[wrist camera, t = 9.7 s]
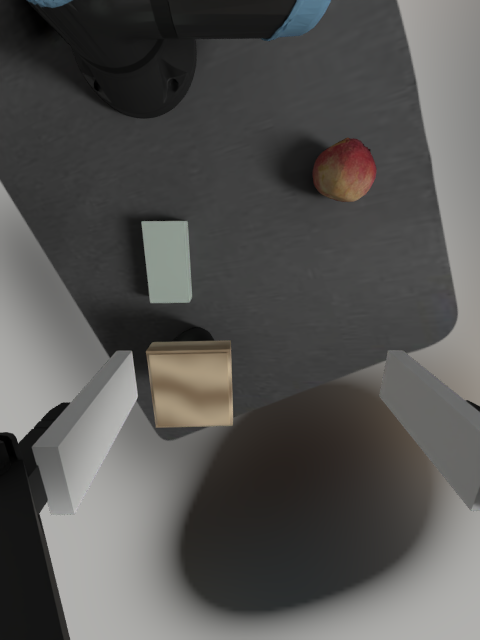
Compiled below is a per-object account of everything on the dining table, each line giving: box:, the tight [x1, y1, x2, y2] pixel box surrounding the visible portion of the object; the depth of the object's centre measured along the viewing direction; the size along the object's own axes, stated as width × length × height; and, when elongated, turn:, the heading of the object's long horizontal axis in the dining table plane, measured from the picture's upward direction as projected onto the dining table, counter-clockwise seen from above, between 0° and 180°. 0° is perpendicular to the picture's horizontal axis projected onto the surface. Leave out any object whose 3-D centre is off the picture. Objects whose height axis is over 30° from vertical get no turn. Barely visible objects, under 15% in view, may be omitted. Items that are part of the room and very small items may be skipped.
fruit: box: [313, 138, 376, 202], centre depth 40 cm, size 8×8×8 cm
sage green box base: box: [141, 221, 192, 303], centre depth 45 cm, size 12×6×4 cm, turn 0°
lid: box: [146, 340, 233, 427], centre depth 42 cm, size 12×11×3 cm
